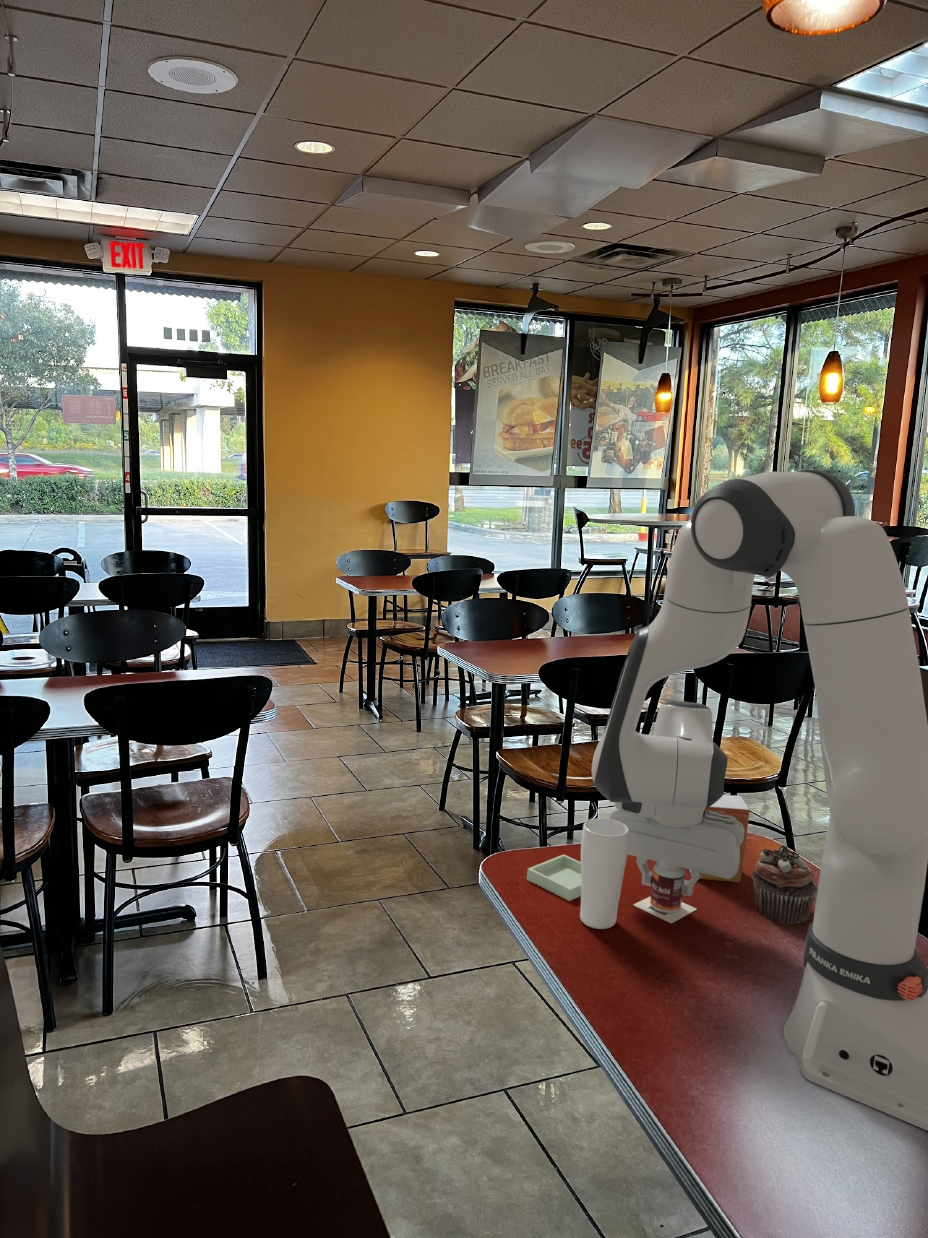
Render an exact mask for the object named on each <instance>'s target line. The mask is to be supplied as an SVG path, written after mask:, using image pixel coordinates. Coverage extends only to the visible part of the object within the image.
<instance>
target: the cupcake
mask: <svg viewBox="0 0 928 1238" xmlns="http://www.w3.org/2000/svg"><path fill="white" fill-rule="evenodd" d="M814 877H815V875H814V872H813V871H812V869H811V868H809V866H808V865H807V863H806V862H805V861H804V860H803V859H802V858H801V857H800V854H799V853H798V852H795V851H793V850H792V851H791V850H789V849H788V846H786V845H785V844H783V845H781V846H780V847H779V848H778V849H773V850H770V849H765V848H764V849H763V850H762V851H761V853H760V857H759V860H758V861H756V862H755V865H754V870H753V872H752V879H753V892H754V902H755V903H754V906H755V909H756V911H757V912H758V913H759V914H760V915H762V916H764V918H767V919H768V920H771V921H773V922H777V923H780V924H781V923H782V924H787V925H788V924H791V925H792V924H793V925H794V924H801V923H804V922H806V921H807V920H808V918H809V917H810V913H811V910H812V907H813V904H814V901H815V900H816V897H817V890H818V884H816V883H815V882H814V881H813V879H814Z"/></svg>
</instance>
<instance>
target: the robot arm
mask: <svg viewBox="0 0 928 1238" xmlns="http://www.w3.org/2000/svg"><path fill="white" fill-rule="evenodd" d="M855 509H856V507H855V502H854V498H853V494H852V493H851V491H850V489H849V488H848V486H847V485H846V484H845V483H844V482H843V481H842V480H841V479H839V477H838V476H835V475H833V474H831V473H829V472H825V471H822V470H818V469H817V470H815V469H805V468H804V469H799V470H796V471H767V472H762V473H757V474H753V475H749V476H745V477H741V478H733V479H728V480H726V481H723V482H721V483H719V484H717V485H715V486H713V487H711V488H709V490H707V491H706V492H704V494H703V495H702V496H701V497H700V498H699V499H698V500H697V502H696V503H695V505H694V508H693V510H692V513H691V519H688V520H687V521H686V522H684V524H683V525H682V526H681V527H680V528H679V531H678V533H677V536H676V539H675V542H674V545H673V549H672V552H671V556H670V561H669V564H668V569H667V574H666V580H665V587H664V594H663V601H662V604H661V607H660V609H659V612H657V615H656V616H655V618H654V620H652V622H651V623H650V624H649V625H648V626H643V627H642V628H640V629H638V631H637V632H636V633H635V634H634V637H633V639H632V641H631V644H630V646H629V649H628V650H627V654H626V657H625V661H624V664H623V667H622V669H621V673H620V676H619V680H618V683H617V686H616V690H615V694H614V697H613V699H612V703H611V707H610V711H609V713H608V717H607V721H606V723H605V726H604V730H603V732H602V734H601V735H602V736H601V737H600V740H599V741H598V743H597V746H596V748H595V751H594V754H593V756H592V757H593V758H592V760H591V761H592V763H591V777H592V784H593V786H594V787H595V788H596V790H597V791H598V792H599V793H600V794H601V795H602V796H603V797H604V798H606V799H607V801H608V802H610V803H614V806H615V808H614V809H613V811H612V812H611V813H610V815H609V817H608V819H611V820H615V821H618V822H621V823H623V824H624V825H626V826H627V827H628V829H629V840H628V852H627V855H629V856H633V857H636V860H635V861H636V864H637V867H638V870H639V871H640V873H641V874H642V875H641V885H644V886H649V887H652V877H653V870H650V868H649V865H648V863H647V862H648V860H650V861H653V862H656V863H657V862H662V860H667V861H671V862H672V863H673V865H674V866H677V867H681V868H683V869H684V870H689V871H690V870H691V873H690V877H691V878H690V880H687V879H684V882H683V883H682V887H681V889H682V890H681V894H682V896H683V895H684V896H687V897H692V895H693V892H694V886H695V884H696V883H697V881H699V880H700V879H699V878H700V876H701V875H702V873H705V874H709V875H713V876H717V877H721V878H725V879H731V878H732V877H734V876H735V875H736V873H737V871H738V869H739V861H740V847H739V846H740V845H741V844H742V843H743V840H744V827H743V825H742V824H741V823H740V822H739V821H737V820H735V819H736V818H735V817H733V816H729V815H721V814H718V813H715V812H711V811H706V810H705V808H708V807H710V806H711V805H713V804H714V803H715V802H717V801H718V800H719V799H720V798H721V797H722V796H723V795H725V791H724V788H725V779H726V774H727V773H726V772H727V766H728V761H729V760H728V759H729V757H728V755H727V754H726V753H725V752H724V751H723V750H722V748H721V747H720V746H719V745H717V743H716V742H714V741H713V711H712V709H711V708H710V707H709V706H707V705H706V704H704V703H703V704H702V703H698V702H696V703H695V702H694V701H693V702H690V701H681V700H676V701H675V700H668V701H665V702H662V703H660V706H659V709H658V712H657V716H656V719H655V724H654V728H653V734H644V733H639V732H638V731H636V729H637V726H638V723H639V719H640V717H641V716H640V715H641V713H642V709H643V707H644V703H645V700H646V697H647V695H648V692H649V690H650V689H651V687H652V686H653V685H654V684H656V683H657V682H659V681H660V680H662V679H664V678H667V677H670V676H673V675H675V674H678V673H683V672H685V671H690V670H695V669H699V668H702V667H707V666H709V665H712V664H714V663H718V662H719V661H721V660H723V659H724V658H726V657H727V656H729V655H730V654H732V653H733V652H734V651H735V650H736V649H737V648H738V646H740V644H741V643H742V641H743V638H744V636H745V633H746V629H747V625H748V621H749V617H750V611H751V605H752V596H753V588H754V583H755V578H756V576H760V577H765V578H771V577H773V576H775V575H776V574H777V573H779V571H780V572H781V573H783V574H785V575H787V576H788V577H789V578H790V579H791V581H792V582H793V583H794V586H795V588H796V590H797V591H796V592H797V594H798V597H799V603H800V609H801V616H802V621H803V627H804V633H805V639H806V644H807V650H808V654H809V655H808V656H809V660H810V666H811V672H812V677H813V683H814V689H815V696H816V697H815V698H816V707H817V708H816V709H817V720H818V729H819V740H820V750H821V758H822V767H823V775H824V776H823V777H824V782H825V788H826V790H825V791H826V795H827V802H828V803H827V804H828V808H829V818H828V824H827V829H826V836H825V841H824V847H823V851H822V852H823V853H822V856H821V862H820V867H819V869H820V870H819V877H818V883H817V894H816V896H815V906H814V914H813V921H812V922H811V923H810V924H809V926H808V929H807V934H806V939H805V943H804V944H805V945H804V949H803V950H804V951H803V954H804V955H803V956H804V957H803V966H804V973H803V976H802V980H801V984H800V988H799V991H798V994H797V996H796V1000H795V1003H794V1004H793V1008H792V1010H791V1012H790V1015H789V1016H788V1018H787V1020H786V1022H785V1024H784V1027H783V1037H784V1039H785V1043H786V1044H787V1046H788V1047H789V1049H790V1050H791V1051H792V1053H793V1054H794V1055H795V1056H796V1058H797V1060H798V1061H799V1065H800V1070H801V1073H802V1075H803V1076H804V1077H805V1079H807V1080H808V1081H809V1082H811V1083H814V1084H816V1085H819V1086H821V1087H823V1088H826V1089H828V1090H831V1091H833V1092H835V1093H838V1094H839V1095H842V1096H844V1097H847V1098H850V1099H852V1100H854V1101H856V1102H859V1103H861V1104H864V1105H867V1106H869V1107H871V1108H873V1109H876V1110H878V1111H880V1112H883V1113H885V1114H887V1115H890V1116H892V1117H893V1118H897V1119H899V1120H901V1121H904V1122H906V1123H908V1124H911V1125H914V1126H916V1127H918V1128H920V1129H923V1130H925V1131H926V1132H927V1131H928V965H927V966H926V964H925V963H924V962H923V960H922V959H921V957H920V956H919V954H918V951H917V948H916V942H917V937H918V932H919V931H918V930H919V925H920V924H919V923H920V918H921V914H922V913H921V912H922V907H923V906H922V905H923V900H924V892H925V887H926V886H925V885H926V877H927V871H928V717H927V710H926V705H925V704H926V703H925V697H924V696H925V695H924V688H923V681H922V675H921V674H922V673H921V670H920V669H921V668H920V664H919V657H918V652H917V646H916V641H915V636H914V630H913V623H912V617H911V612H910V607H909V603H908V601H909V600H908V598H907V597H908V596H907V592H906V588H905V584H904V580H903V577H902V573H901V570H900V566H899V564H898V561H897V557H896V554H895V552H894V549H893V546H892V544H891V542H890V539H889V537H888V535H887V533H886V531H885V530H884V528H883V527H882V526H881V525H880V524H879V523H878V522H876V521H874V520H872V519H869V518H867V517H866V518H865V517H861V516H855V514H856V513H855V512H856V510H855ZM704 817H705V818H704ZM735 823H737V824H735ZM692 876H693V877H692Z"/></svg>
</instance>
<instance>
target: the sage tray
mask: <svg viewBox="0 0 928 1238" xmlns="http://www.w3.org/2000/svg"><path fill="white" fill-rule="evenodd" d="M526 871H527V873H526V880H527V881H528V882H530V883H533V884H534V885H536V884H537V885H536V886H538V887H540V886H541V887H540V888H541V889H542V888H543V889H545V890H546V891H548V892H551V893H552V894H554V895H557V896H559V897H560V898H563V899H564V900H566V901H568V902H570V901H572V900H575V899H577V898H579V897H581V861H580V860H576V859H575V858H573V857H570V856H568V855H566V854H562V855H558V856H556V857H554V858H551V859H548V860H546V861H544V862H541V863H539V864H536V865H534V866H531V867H528V868H527V870H526Z"/></svg>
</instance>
